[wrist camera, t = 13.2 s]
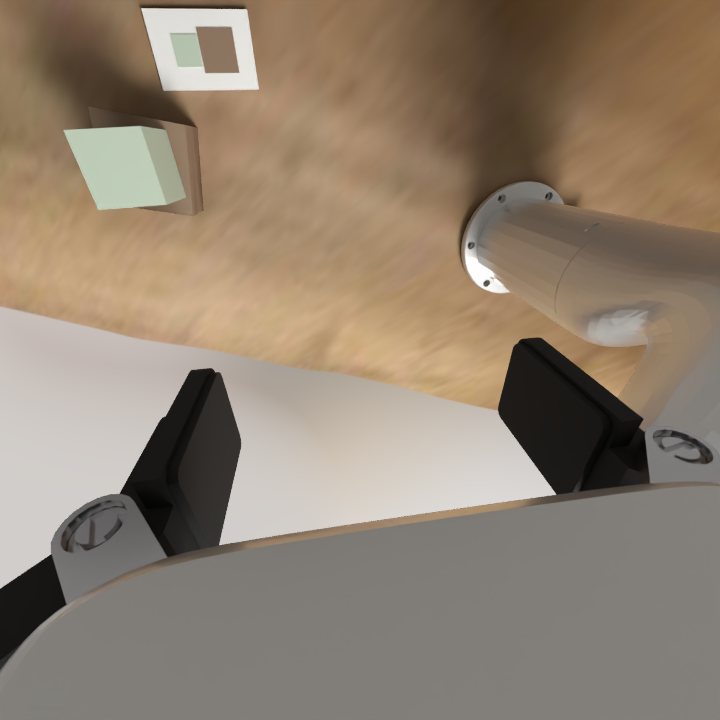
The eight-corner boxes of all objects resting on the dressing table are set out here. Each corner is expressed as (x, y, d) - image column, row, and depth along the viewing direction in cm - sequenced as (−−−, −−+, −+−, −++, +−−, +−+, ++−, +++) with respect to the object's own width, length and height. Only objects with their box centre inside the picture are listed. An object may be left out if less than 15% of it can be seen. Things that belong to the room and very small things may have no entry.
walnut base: (198, 127, 31) (185, 125, 27) (203, 209, 34) (193, 215, 31) (112, 111, 29) (87, 106, 26) (127, 198, 33) (107, 203, 29)
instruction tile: (247, 10, 27) (246, 8, 26) (258, 89, 29) (258, 88, 29) (142, 9, 26) (140, 7, 26) (164, 91, 29) (162, 90, 28)
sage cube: (165, 129, 27) (140, 126, 23) (186, 197, 30) (166, 204, 26) (101, 133, 27) (63, 130, 23) (128, 201, 29) (98, 209, 25)
